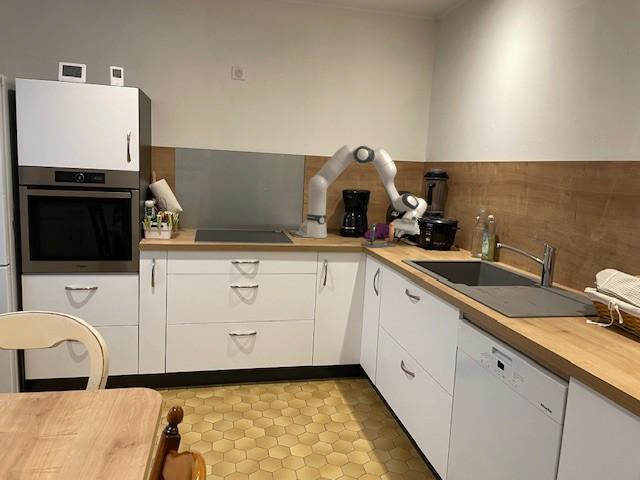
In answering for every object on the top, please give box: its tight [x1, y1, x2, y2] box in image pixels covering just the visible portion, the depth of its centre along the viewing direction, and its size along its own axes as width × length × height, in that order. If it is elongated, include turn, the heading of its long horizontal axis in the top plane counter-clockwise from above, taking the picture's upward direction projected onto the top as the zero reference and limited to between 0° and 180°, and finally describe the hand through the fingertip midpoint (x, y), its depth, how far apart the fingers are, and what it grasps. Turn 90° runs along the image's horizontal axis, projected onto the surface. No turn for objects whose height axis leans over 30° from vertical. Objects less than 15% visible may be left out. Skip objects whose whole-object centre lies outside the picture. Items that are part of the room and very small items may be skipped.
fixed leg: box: [365, 222, 377, 244], centre depth 276 cm, size 6×3×12 cm, turn 37°
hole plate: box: [360, 239, 397, 249], centre depth 281 cm, size 10×19×2 cm, turn 128°
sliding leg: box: [384, 221, 395, 243], centre depth 286 cm, size 6×3×12 cm, turn 38°
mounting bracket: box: [364, 222, 390, 240], centre depth 314 cm, size 9×8×18 cm
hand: (396, 236), depth 288 cm, fingers closed
